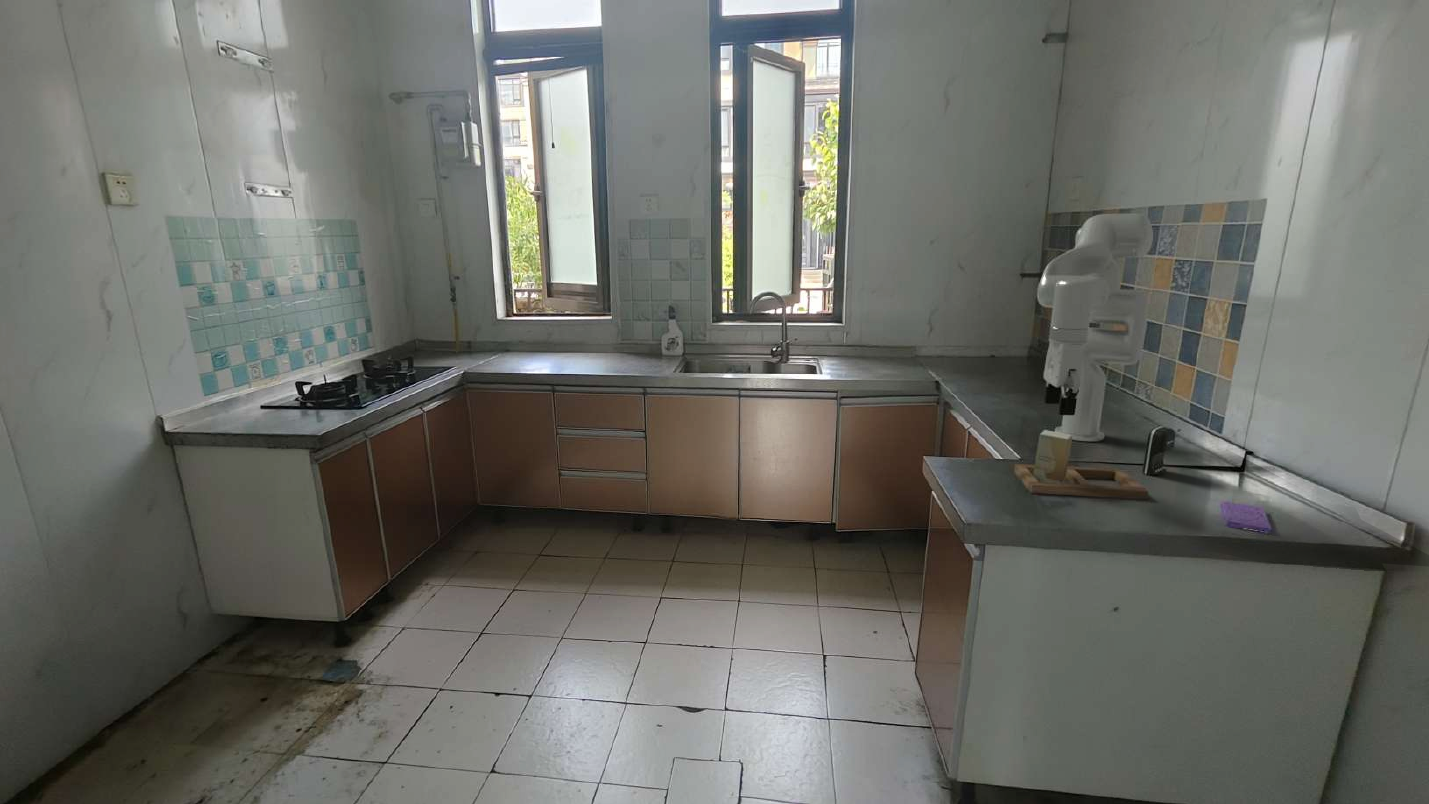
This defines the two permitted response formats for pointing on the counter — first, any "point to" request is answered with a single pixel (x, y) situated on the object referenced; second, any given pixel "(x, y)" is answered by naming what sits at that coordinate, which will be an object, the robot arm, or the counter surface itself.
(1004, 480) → the counter surface
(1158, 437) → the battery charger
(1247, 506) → the sponges
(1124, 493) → the rack
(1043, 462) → the skincare box
